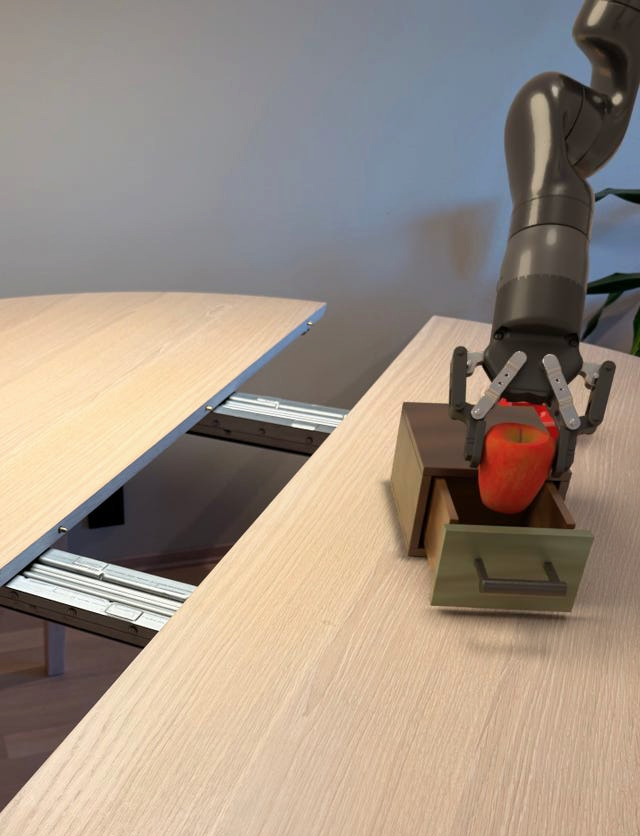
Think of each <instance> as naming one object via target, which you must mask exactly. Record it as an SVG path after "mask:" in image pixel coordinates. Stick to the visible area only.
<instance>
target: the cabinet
mask: <svg viewBox="0 0 640 836" xmlns="http://www.w3.org/2000/svg"><path fill="white" fill-rule="evenodd" d="M476 404H477V403H475V404H473V403H472V405H474V406H475V405H476ZM448 406H449V402H447V403H446V402H445V403H443V402H423V401H422V402H421V401H403V402H402V405H401V412H400V417H399V424H398V430H397V436H396V443H395V449H394V455H393V460H392V467H391V474H390V479H389V486H390V490H391V491H390V492H391V495H392V499H393V502H394V505H395V506H394V507H395V510H396V514H397V518H398V523H399V526H400V530H401V534H402V539H403V542H404V546H405V550H406V554H407V557H427V554H426V550H425V547H424V543H423V540H422V536H421V530H422V524H423V519H424V514H425V509H426V503H427V498H428V493H429V488H430V482H431V477H432V476H453V477H478V478H479V466H478V468H469V465H470V461H465V460H464V456H463V452H464V446H465V439H466V432H467V427H466V425H465V423H463V422H462V421H460V420H452V419H450V418H449V416H448ZM485 421H486V427H485V434H486V433H487V431H488V430H489V429H490V427H492V426H495V425H497V424H500V423H519V424H525V425H530V426H533V427H536V428H538V429H540V430H542V431H544V432H545V433H547V434H549V432H548V431H547V429H546V427H545V426H544V424H543V422H542V421H541V419H540V417H539V415H538V414H537V412H536V410H535V409H534V407H531V406H503V405H497V406H496V407H495V409H494V410H493V411H492V412H491V413H490V414H489V416H488V417H487V418H486V419H485ZM485 434H484V436H485ZM549 435H550V434H549ZM551 472H552V469H551V471H550V473H549V475H548V477H547V478H546V480H551V481H553V483H554V485H555V486H556V488H557V490H558V492H559V494H560V496H561V497H562V499H563V501H564V502H565V501H566V497H567V494H568V491H569V488H570V487H569V486H570V483H571V480H572V476H573V472H572V470H571V468H570V469H569V470H568V471H567V473H565V472H564V473H563V475H562V476H561V477H560V479H559V478H551Z"/></svg>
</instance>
